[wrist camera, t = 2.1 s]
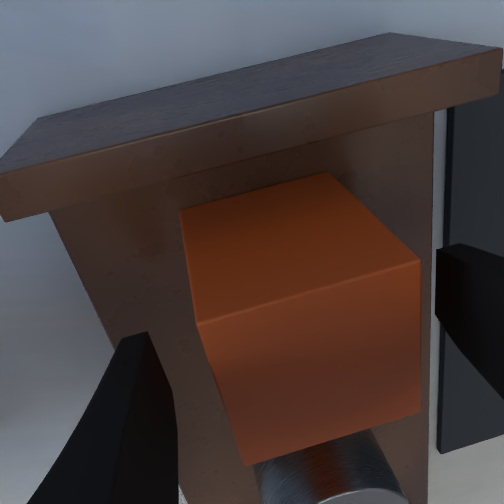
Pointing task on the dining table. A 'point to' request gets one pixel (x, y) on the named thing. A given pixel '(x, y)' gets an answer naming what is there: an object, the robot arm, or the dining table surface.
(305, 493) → the steel tin
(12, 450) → the dining table surface
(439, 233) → the dining table surface
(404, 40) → the shelf
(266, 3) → the dining table surface
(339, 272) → the rust block
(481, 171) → the mat
